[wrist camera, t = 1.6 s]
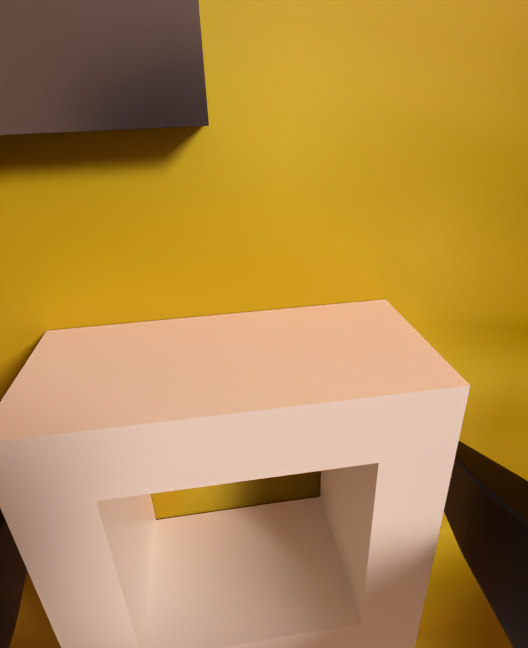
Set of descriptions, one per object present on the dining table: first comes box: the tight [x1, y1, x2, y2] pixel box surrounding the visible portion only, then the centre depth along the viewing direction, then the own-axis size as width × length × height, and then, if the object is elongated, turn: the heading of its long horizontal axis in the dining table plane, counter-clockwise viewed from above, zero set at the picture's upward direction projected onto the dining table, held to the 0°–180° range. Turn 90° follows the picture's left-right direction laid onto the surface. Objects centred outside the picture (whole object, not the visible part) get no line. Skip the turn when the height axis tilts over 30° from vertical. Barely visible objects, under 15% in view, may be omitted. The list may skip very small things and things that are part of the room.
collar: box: [0, 299, 470, 648], centre depth 8 cm, size 6×6×3 cm
